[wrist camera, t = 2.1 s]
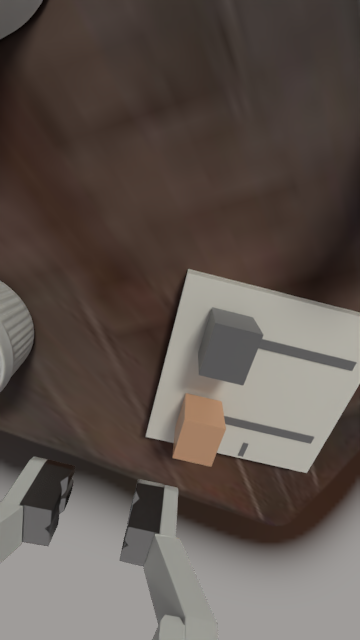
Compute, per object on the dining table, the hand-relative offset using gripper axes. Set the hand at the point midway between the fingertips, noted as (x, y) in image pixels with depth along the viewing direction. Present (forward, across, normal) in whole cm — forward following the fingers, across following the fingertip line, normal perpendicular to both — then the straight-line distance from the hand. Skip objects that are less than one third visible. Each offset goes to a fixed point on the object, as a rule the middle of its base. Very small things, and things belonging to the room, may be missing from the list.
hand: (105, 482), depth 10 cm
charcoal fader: (+17, -6, 0) cm, 18 cm away
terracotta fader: (+17, -7, +10) cm, 21 cm away
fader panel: (+19, -12, +5) cm, 23 cm away
